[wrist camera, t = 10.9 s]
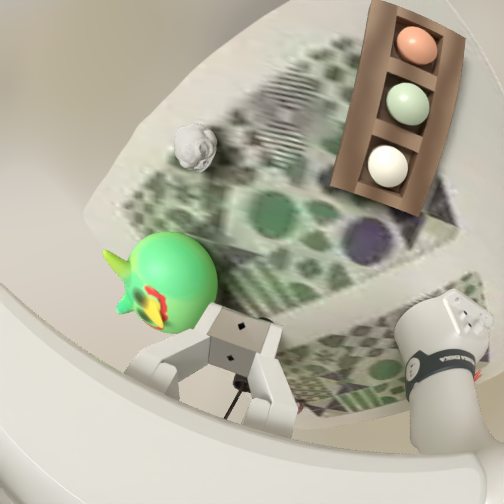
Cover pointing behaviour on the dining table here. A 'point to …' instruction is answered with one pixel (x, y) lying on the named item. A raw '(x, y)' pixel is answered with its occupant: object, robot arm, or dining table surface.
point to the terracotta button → (415, 46)
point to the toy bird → (166, 281)
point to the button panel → (379, 120)
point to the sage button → (407, 104)
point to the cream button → (387, 165)
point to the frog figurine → (195, 147)
